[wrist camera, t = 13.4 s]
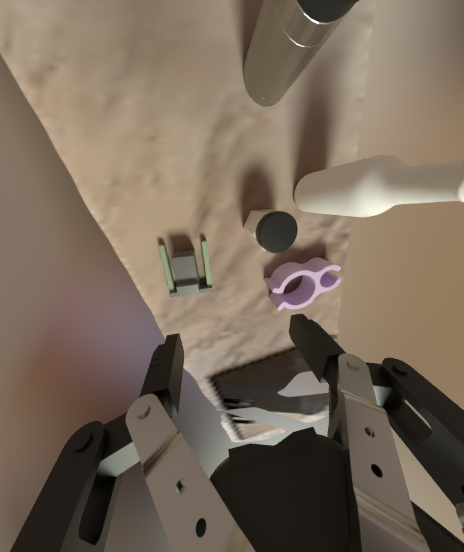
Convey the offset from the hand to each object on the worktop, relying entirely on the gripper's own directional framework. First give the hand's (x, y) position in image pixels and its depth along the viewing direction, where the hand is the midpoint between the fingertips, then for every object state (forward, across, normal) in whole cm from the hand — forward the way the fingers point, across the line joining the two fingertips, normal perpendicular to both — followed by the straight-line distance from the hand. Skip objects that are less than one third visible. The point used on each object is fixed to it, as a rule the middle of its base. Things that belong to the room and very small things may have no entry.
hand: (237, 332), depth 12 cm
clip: (+34, -25, +15) cm, 45 cm away
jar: (+34, -13, -2) cm, 37 cm away
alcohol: (+34, -26, -9) cm, 44 cm away
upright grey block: (+34, +7, +7) cm, 36 cm away
